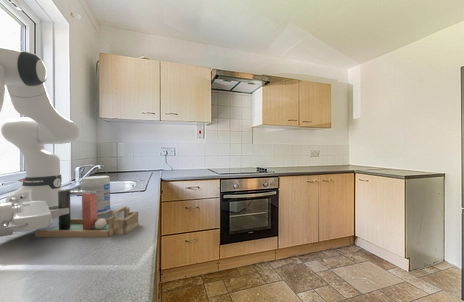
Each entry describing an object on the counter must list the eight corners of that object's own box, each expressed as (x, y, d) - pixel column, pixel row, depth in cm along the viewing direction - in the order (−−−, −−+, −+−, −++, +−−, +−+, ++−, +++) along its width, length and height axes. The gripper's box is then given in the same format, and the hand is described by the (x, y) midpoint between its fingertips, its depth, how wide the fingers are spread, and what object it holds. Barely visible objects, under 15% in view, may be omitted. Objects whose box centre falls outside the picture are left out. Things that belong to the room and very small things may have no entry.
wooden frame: (108, 238, 61) (108, 214, 61) (127, 225, 72) (127, 204, 72) (123, 238, 61) (123, 214, 61) (139, 225, 72) (139, 204, 72)
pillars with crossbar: (55, 229, 65) (55, 191, 65) (64, 226, 68) (63, 189, 68) (93, 229, 65) (92, 191, 65) (99, 225, 68) (99, 189, 68)
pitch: (35, 239, 61) (35, 231, 61) (65, 225, 72) (65, 218, 72) (108, 239, 61) (107, 231, 61) (127, 225, 72) (127, 218, 72)
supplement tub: (111, 215, 83) (110, 177, 83) (81, 219, 78) (80, 179, 78) (109, 209, 91) (108, 174, 91) (82, 212, 86) (81, 176, 86)
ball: (92, 231, 65) (92, 220, 65) (99, 227, 68) (98, 217, 68) (102, 231, 65) (102, 220, 65) (109, 227, 68) (108, 217, 68)
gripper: (0, 216, 50) (73, 205, 60) (5, 201, 65) (63, 194, 74) (1, 243, 50) (73, 227, 60) (5, 221, 65) (63, 212, 74)
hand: (68, 208), depth 67 cm, fingers closed on pillars with crossbar, 3 cm apart
